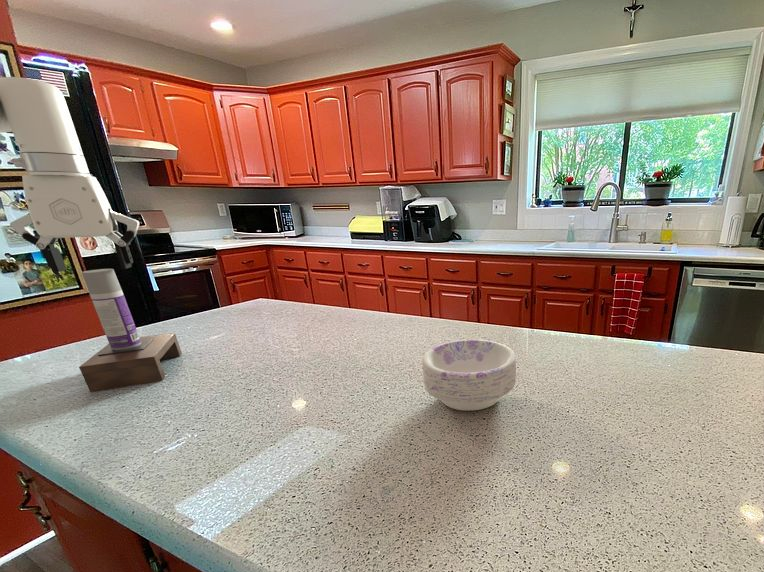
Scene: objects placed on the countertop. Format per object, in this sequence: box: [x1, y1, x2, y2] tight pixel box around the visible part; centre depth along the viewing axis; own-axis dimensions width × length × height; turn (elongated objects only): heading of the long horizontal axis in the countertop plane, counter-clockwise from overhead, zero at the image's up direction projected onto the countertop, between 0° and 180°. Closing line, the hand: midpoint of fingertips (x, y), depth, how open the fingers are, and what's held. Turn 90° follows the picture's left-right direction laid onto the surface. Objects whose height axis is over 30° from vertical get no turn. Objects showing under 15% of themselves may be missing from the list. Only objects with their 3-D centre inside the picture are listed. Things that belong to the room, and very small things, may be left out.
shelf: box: [78, 332, 183, 393], centre depth 80 cm, size 11×16×5 cm
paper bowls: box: [421, 339, 517, 412], centre depth 65 cm, size 15×15×8 cm
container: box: [81, 268, 141, 350], centre depth 76 cm, size 5×5×15 cm
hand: (94, 269), depth 73 cm, fingers open, 9 cm apart
